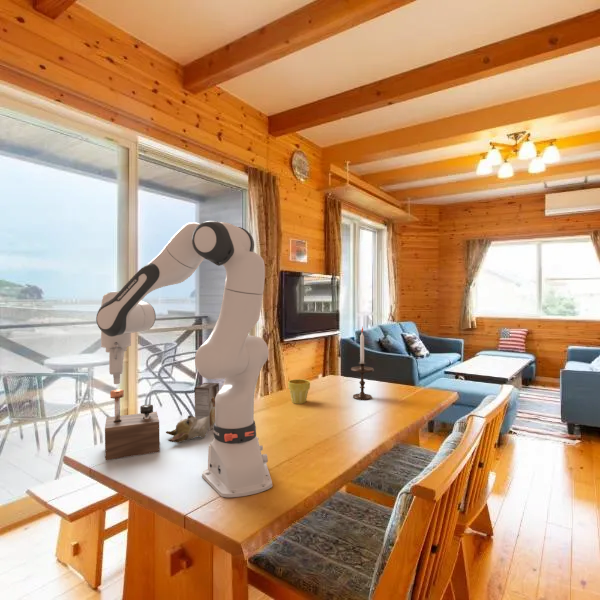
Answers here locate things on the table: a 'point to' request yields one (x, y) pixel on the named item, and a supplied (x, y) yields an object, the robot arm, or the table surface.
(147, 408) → the black knob plunger
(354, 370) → the candlestick
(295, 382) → the plant pot
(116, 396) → the terracotta knob plunger
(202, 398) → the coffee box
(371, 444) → the table surface
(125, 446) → the block
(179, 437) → the ceramic sculpture
